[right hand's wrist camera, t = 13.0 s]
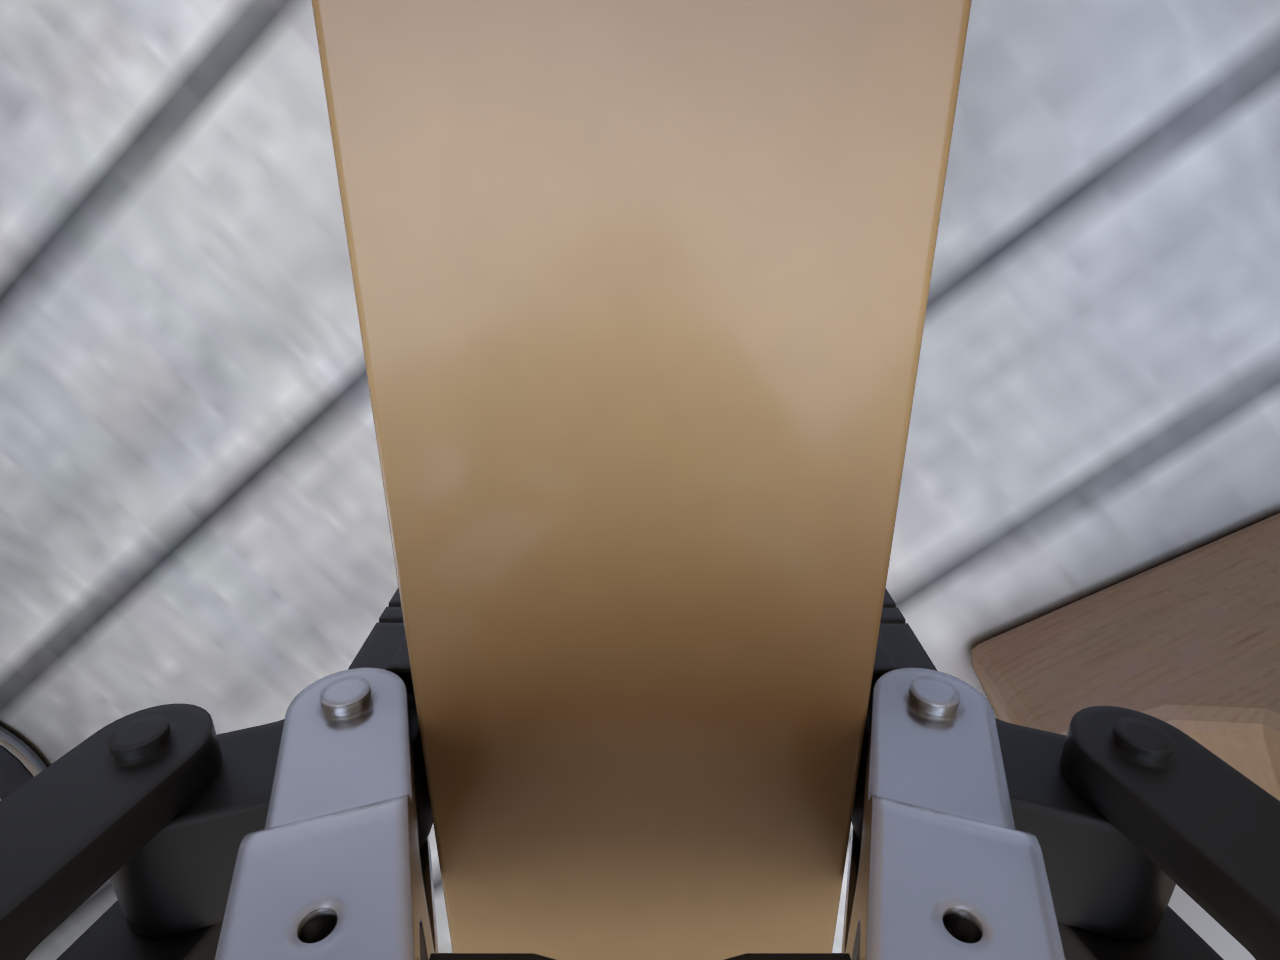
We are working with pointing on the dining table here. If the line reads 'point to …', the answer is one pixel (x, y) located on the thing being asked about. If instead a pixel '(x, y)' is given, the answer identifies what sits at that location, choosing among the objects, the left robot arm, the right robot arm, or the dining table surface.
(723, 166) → the bar
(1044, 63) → the dining table surface
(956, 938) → the right robot arm
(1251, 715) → the decorative block
